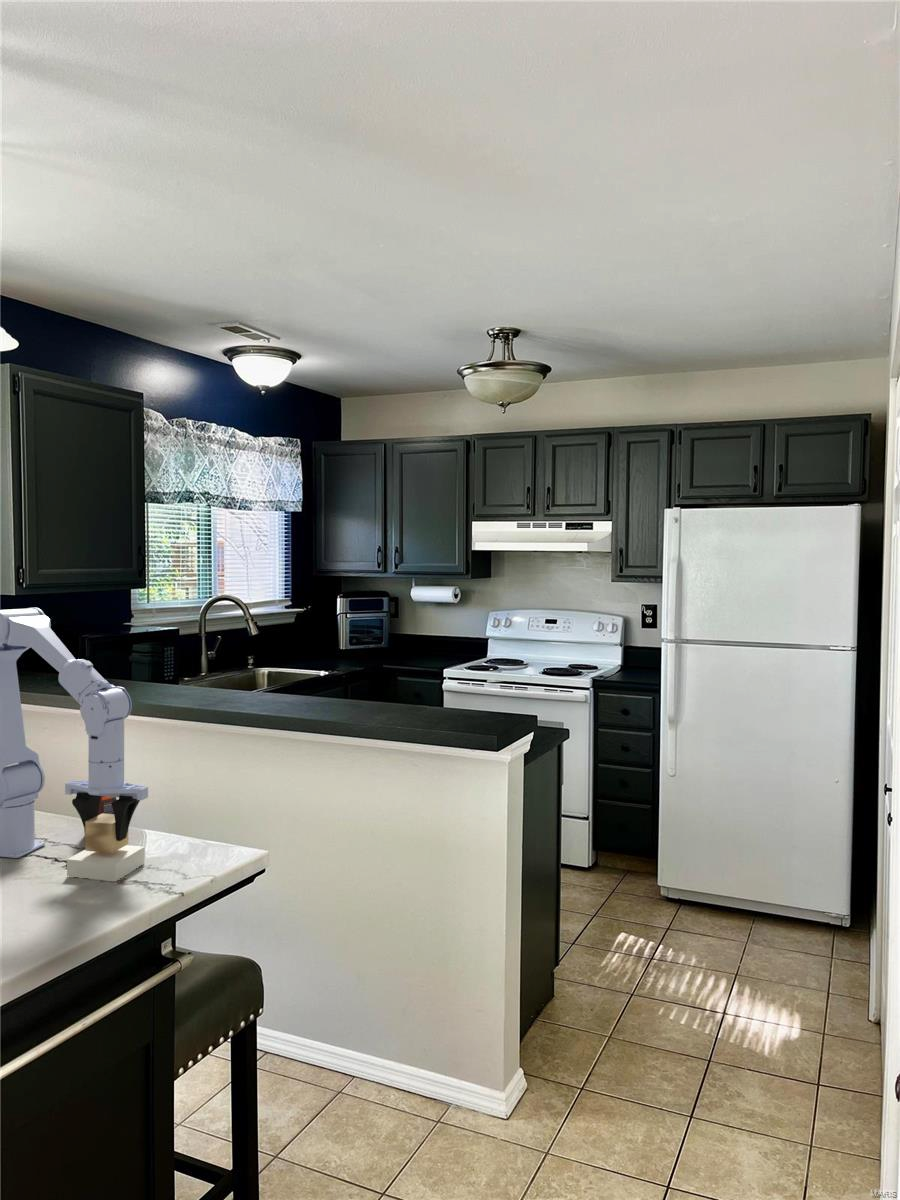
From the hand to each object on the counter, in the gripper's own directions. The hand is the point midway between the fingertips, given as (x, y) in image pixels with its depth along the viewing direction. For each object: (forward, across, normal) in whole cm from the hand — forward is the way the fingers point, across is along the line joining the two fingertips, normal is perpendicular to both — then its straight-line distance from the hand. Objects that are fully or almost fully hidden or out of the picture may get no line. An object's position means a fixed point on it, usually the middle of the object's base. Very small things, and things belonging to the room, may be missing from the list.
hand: (106, 837), depth 154 cm
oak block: (+2, 0, 0) cm, 2 cm away
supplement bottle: (+6, -12, +17) cm, 22 cm away
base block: (+6, 0, 0) cm, 6 cm away
